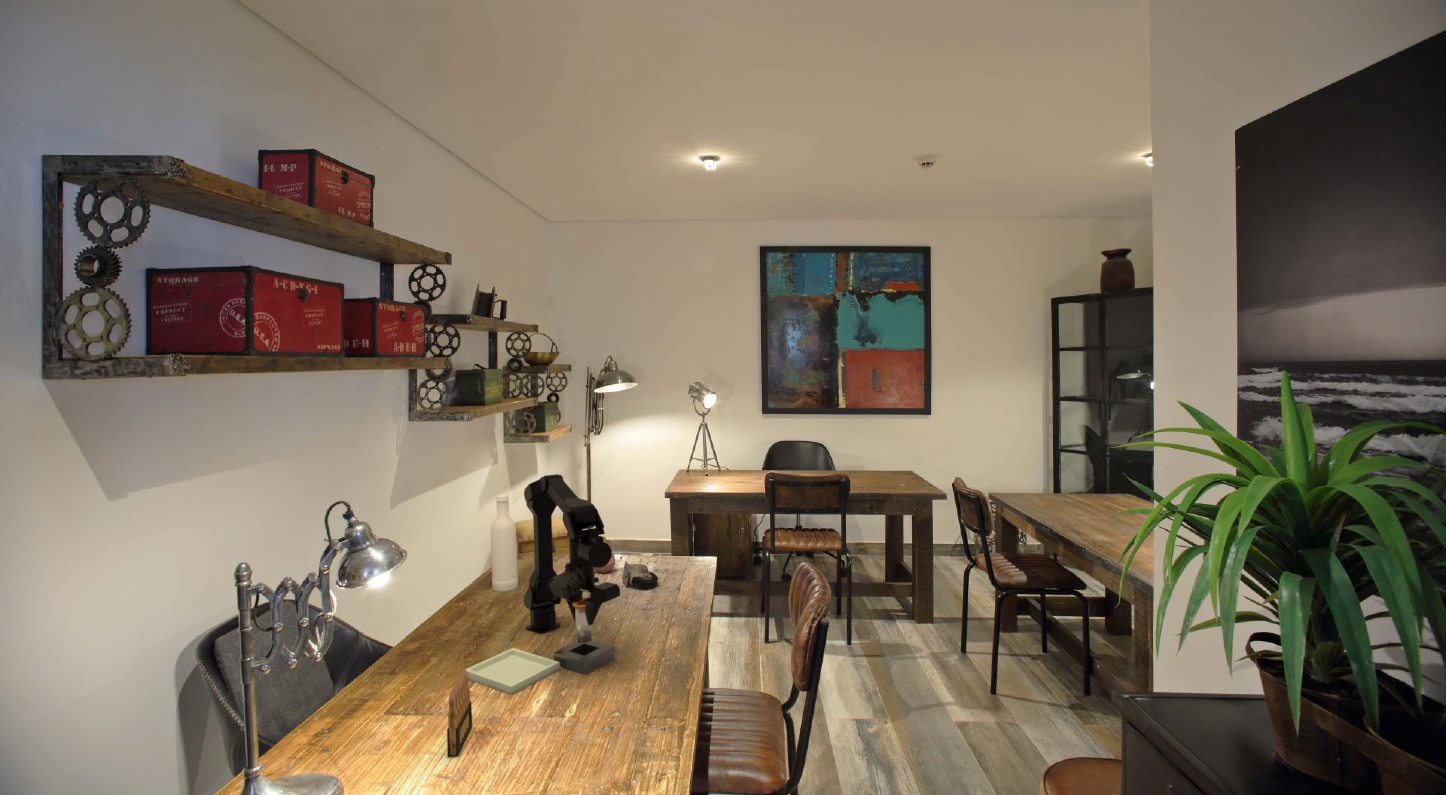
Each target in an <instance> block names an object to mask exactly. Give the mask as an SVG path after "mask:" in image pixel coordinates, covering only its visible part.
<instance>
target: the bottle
mask: <svg viewBox="0 0 1446 795" xmlns="http://www.w3.org/2000/svg"><path fill="white" fill-rule="evenodd" d="M509 500H510V498H509V494H498V495H496V499H495V502H496V518H495V519H494V520H493V521H492V523H491V526H490V547H491V551H490V552H491V574H492V575H491V586H492V590H493V591H494V592H496V593H506V592H511V591H514V590H516V589H517V588H518V586H519V575H518V574H519V573H518V550H517V549H518V544H517V525H516V523H515V521H514V519H513V518H511V517H510V513H509V512H510V509H509V505H510V504H509V503H510V502H509Z"/></svg>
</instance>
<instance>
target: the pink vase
mask: <svg viewBox="0 0 1446 795" xmlns="http://www.w3.org/2000/svg"><path fill="white" fill-rule="evenodd" d="M602 537H603V542H605V543H607V537H606V536H602ZM615 565H616V558H615V554H614V553H613V552H612V557H611V559H610V561H609V563H608V564H607V565H605V566H604V567H601V568H596V567H595V571H597V572H600V573H601V574H607V573H608V572H609V571H611V570H614V568H615Z"/></svg>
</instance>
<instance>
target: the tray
mask: <svg viewBox="0 0 1446 795" xmlns="http://www.w3.org/2000/svg"><path fill="white" fill-rule="evenodd" d="M465 669H466V671H467V675H468V681H472V682H475V683H477V684H480V685H483V686H485V687H488V688H491V689H493V690H496V691H499V692H502V693H503V694H507V695H510V696H513V695H514V694H516V693H518V692H521V691H522V690H524V689H526V688H528V687H530V686H532V685H534V684H536V683H538V682H539V681H541V680H543V679H546V678H547V677H550V676H551V675H553V674H555V673H557V672H558V671H560V670H561V667H560V662H557V661H554V659H550V658H547V657H544V656H541V655H537V654H535V653H530V652H528V651H525V650H522V649H518V648H514V647H512V648H510V649H509V648H508V650H505V651H503V652H501V653H498V654H497V655H494V656H493V657H490V658H488V659H485V660H483V661H480V662H478V663H476V664H474V665H472V666H470V667H466V668H465Z"/></svg>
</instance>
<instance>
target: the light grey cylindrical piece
mask: <svg viewBox="0 0 1446 795" xmlns="http://www.w3.org/2000/svg"><path fill="white" fill-rule="evenodd" d="M588 597H589V596H582V597H579V598H576V599H574V600H573V601H572V606H573V607H575V621H574V622H575V642H578V643H587V642H590V641H592V640H593V624H592V625H589V624H588V615H587V604H586V603H585V602H584V601H583V600H584V599H586V598H588Z"/></svg>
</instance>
